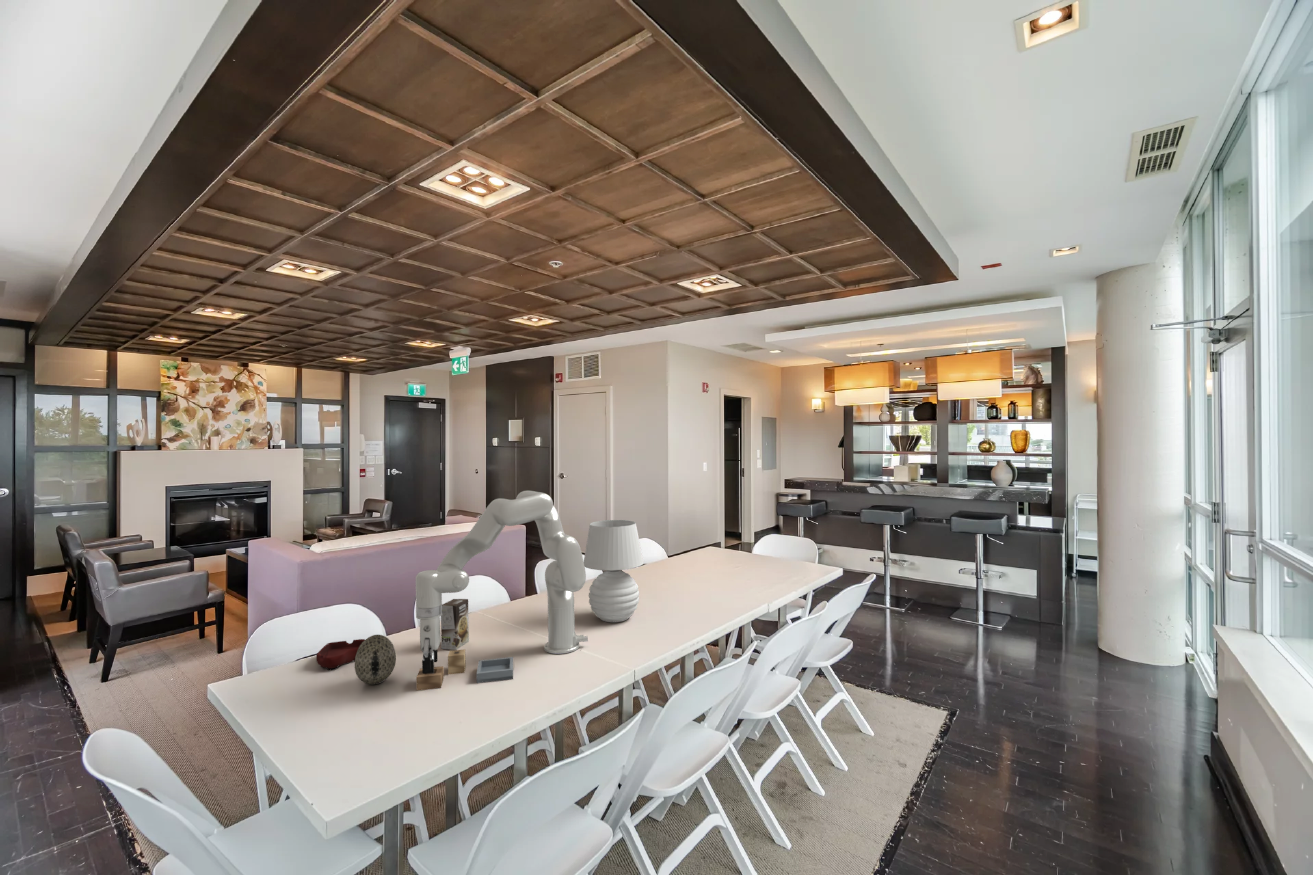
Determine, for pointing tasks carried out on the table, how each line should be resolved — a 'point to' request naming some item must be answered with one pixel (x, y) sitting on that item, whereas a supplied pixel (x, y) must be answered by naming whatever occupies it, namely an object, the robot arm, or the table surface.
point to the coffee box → (454, 624)
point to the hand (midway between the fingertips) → (430, 667)
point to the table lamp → (613, 568)
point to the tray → (495, 670)
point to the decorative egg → (375, 659)
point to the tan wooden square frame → (430, 679)
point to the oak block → (456, 662)
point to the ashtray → (338, 653)
